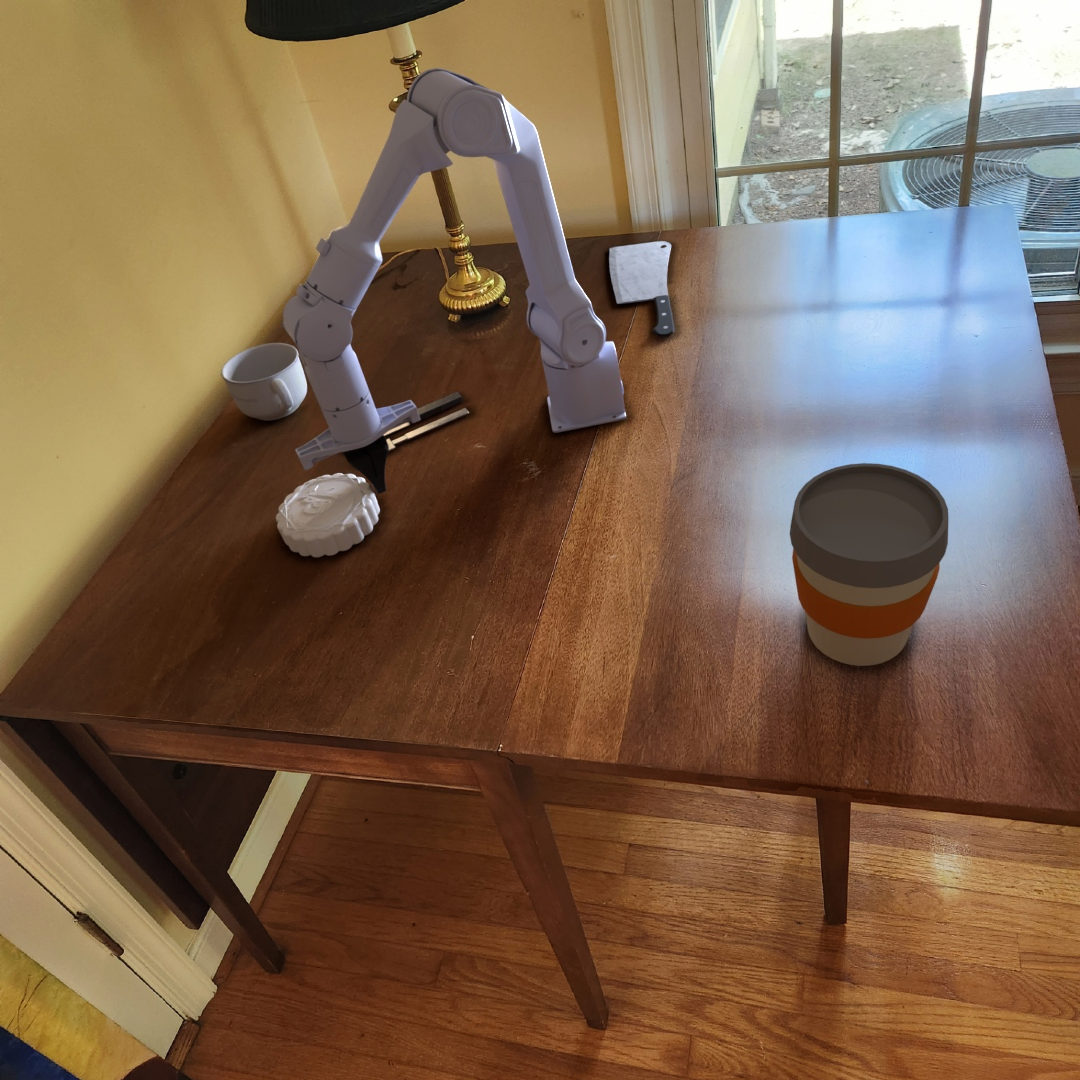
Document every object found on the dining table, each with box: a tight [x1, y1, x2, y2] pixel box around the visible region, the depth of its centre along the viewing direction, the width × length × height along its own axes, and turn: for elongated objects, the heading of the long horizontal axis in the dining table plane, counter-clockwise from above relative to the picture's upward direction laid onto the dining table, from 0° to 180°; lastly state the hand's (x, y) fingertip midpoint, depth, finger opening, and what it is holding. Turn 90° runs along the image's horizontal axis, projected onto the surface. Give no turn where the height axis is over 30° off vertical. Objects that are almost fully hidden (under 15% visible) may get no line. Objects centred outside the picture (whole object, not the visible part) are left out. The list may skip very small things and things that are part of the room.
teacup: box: [220, 342, 308, 421], centre depth 126 cm, size 14×11×8 cm
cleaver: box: [608, 240, 676, 338], centre depth 136 cm, size 29×1×10 cm
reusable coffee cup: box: [789, 462, 949, 667], centre depth 79 cm, size 13×13×15 cm
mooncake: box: [275, 472, 381, 558], centre depth 107 cm, size 12×12×4 cm
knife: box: [384, 391, 464, 438], centre depth 121 cm, size 17×2×1 cm, turn 117°
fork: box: [386, 407, 470, 454], centre depth 119 cm, size 16×2×1 cm, turn 117°
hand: (379, 488), depth 109 cm, fingers closed
